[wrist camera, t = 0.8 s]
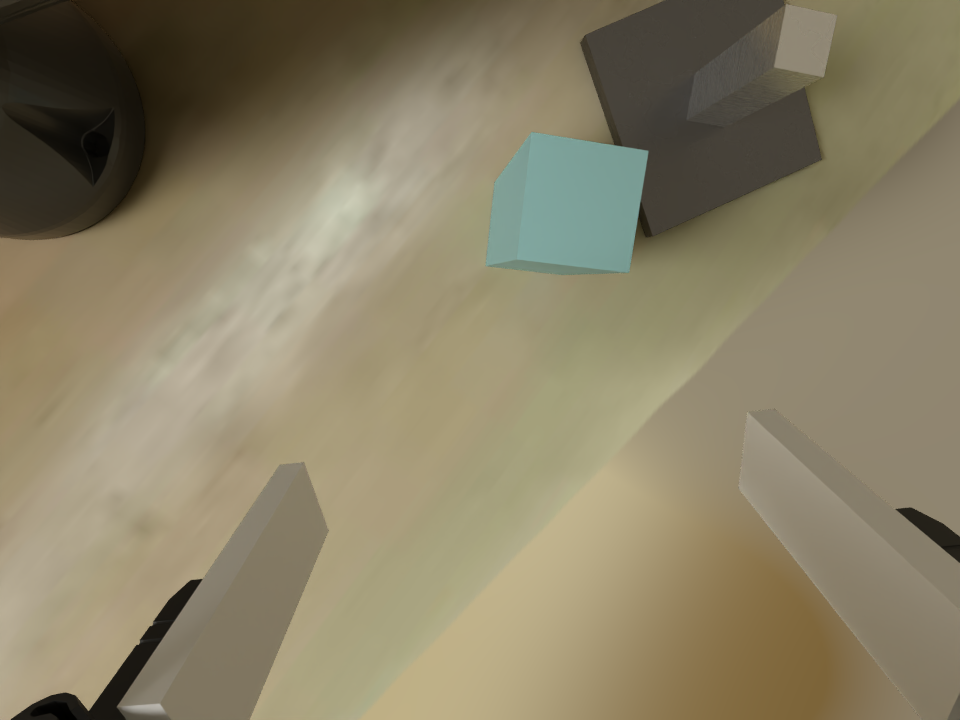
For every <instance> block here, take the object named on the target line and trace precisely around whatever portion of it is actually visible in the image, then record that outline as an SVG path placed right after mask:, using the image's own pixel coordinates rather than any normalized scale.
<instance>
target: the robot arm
mask: <svg viewBox="0 0 960 720" xmlns="http://www.w3.org/2000/svg"><path fill="white" fill-rule="evenodd" d="M144 141H145V124H144V114H143V108H142V103H141V99H140V96H139V92H138V89H137V86H136V83H135V81H134V78H133V76H132V74H131V71H130V69H129V68H128V66H127V64H126V62H125V60H124V58H123V57H122V55H121V53H120V52H119V50H118V49H117V47H116V46H115V44H114V43H113V42H112V40H111V39H110V38H109V37H108V35H107V34H106V33H105V32H104V31H103V30H102V28H101V27H100V26H99V25H98V24H97V23H96V22H95V21H94V20H93V19H92V18H91V17H90V16H89V15H87V14H86V13H85V12H84V11H83V10H82V9H80V8H79V7H78V6H77V5H75V4H74V3H73V2H71V1H70V0H0V237H1V238H11V239H23V240H42V239H51V238H57V237H62V236H66V235H70V234H73V233H76V232H78V231H81V230H83V229H85V228H87V227H90V226H91V225H93V224H95V223H96V222H98V221H100V220H101V219H102V218H104V217H105V216H106V215H108V214H109V213H110V212H111V211H112V210H113V209H114V208H115V207H116V206H117V205H118V204H119V203H120V202H121V201H122V199H123V198H124V197H125V195H126V194H127V192H128V191H129V189H130V187H131V186H132V184H133V182H134V180H135V178H136V176H137V173H138V170H139V167H140V164H141V160H142V156H143V150H144ZM738 488H739V490H740V491H741V492H742V493H743V495H744V496H745V497H746V498H747V500H748V501H749V502H750V504H751V505H752V506H753V507H754V509H755V510H756V511H757V512H758V514H759V515H760V516H761V517H762V519H763V520H764V521H765V523H766V524H767V525H768V526H769V528H770V529H771V530H772V531H773V533H774V534H775V535H776V536H777V538H778V539H779V540H780V541H781V543H782V544H783V545H784V546H785V548H786V549H787V550H788V552H789V553H790V554H791V555H792V557H793V558H794V559H795V560H796V562H797V563H798V564H799V566H800V567H801V568H802V569H803V571H804V572H805V573H806V574H807V576H808V577H809V578H810V579H811V581H812V582H813V583H814V584H815V586H816V587H817V588H818V590H819V591H820V592H821V593H822V595H823V596H824V597H825V598H826V600H827V601H828V602H829V603H830V605H831V606H832V607H833V608H834V610H835V611H836V612H837V614H838V615H839V616H840V617H841V619H842V620H843V621H844V622H845V624H846V625H847V626H848V627H849V629H850V630H851V631H852V633H853V634H854V635H855V636H856V638H857V639H858V640H859V641H860V643H861V644H862V645H863V646H864V648H865V649H866V650H867V651H868V653H869V654H870V655H871V657H872V658H873V659H874V660H875V661H876V663H877V664H878V665H879V667H880V668H881V669H882V670H883V672H884V673H885V674H886V675H887V677H888V678H889V679H890V680H891V682H892V683H893V684H894V685H895V687H896V688H897V689H898V691H899V692H900V693H901V694H902V696H903V697H904V698H905V699H906V701H907V702H908V703H909V704H910V706H911V707H912V708H913V710H914V711H915V712H916V713H917V715H918V716H919V717H920V718H921V719H922V720H960V537H959V536H958V535H957V534H955V533H954V532H953V531H952V530H950V529H949V528H948V527H946V526H945V525H944V524H943V523H941V522H939V521H937V520H935V519H933V518H931V517H929V516H927V515H925V514H923V513H921V512H919V511H917V510H915V509H913V508H901V509H894V508H893V507H892V506H891V505H889V504H888V503H887V502H886V501H885V500H883V499H882V498H881V497H880V496H879V495H877V494H876V493H875V492H874V491H873V490H872V489H870V488H869V487H868V486H867V485H866V484H864V483H863V482H862V481H861V480H860V479H858V478H857V477H856V476H855V475H853V474H852V473H851V472H850V471H849V470H848V469H846V468H845V467H844V466H843V465H841V464H840V463H839V462H838V461H837V460H836V459H834V458H833V457H832V456H831V455H829V454H828V453H827V452H826V451H825V450H824V449H822V448H821V447H820V446H819V445H818V444H816V443H815V442H814V441H813V440H812V439H810V438H809V437H808V436H807V435H806V434H804V433H803V432H802V431H801V430H799V429H798V428H797V427H796V426H795V425H794V424H792V423H791V422H790V421H789V420H788V419H787V418H785V417H784V416H783V415H782V414H780V413H779V412H778V411H777V410H776V409H768V410H759V411H751V412H747V419H746V427H745V436H744V444H743V454H742V462H741V470H740V479H739V487H738ZM328 531H329V530H328V528H327V525H326V522H325V519H324V516H323V514H322V511H321V508H320V505H319V502H318V500H317V497H316V494H315V491H314V488H313V486H312V483H311V480H310V477H309V475H308V472H307V469H306V466H305V463H304V462H301V463H292V464H283V465H279V467H278V468H277V470H276V471H275V473H274V474H273V476H272V477H271V479H270V480H269V482H268V483H267V485H266V486H265V488H264V489H263V491H262V492H261V494H260V495H259V496H258V498H257V499H256V501H255V502H254V504H253V505H252V507H251V508H250V510H249V511H248V513H247V514H246V516H245V517H244V519H243V520H242V522H241V523H240V525H239V526H238V528H237V529H236V531H235V532H234V534H233V535H232V537H231V538H230V540H229V541H228V543H227V544H226V546H225V547H224V548H223V550H222V551H221V553H220V554H219V556H218V557H217V559H216V560H215V562H214V563H213V565H212V566H211V568H210V569H209V571H208V572H207V574H206V575H205V577H204V578H203V579H198V580H190V581H189V582H188V583H187V584H186V585H185V586H184V587H183V588H181V589H180V590H179V591H178V592H177V593H176V594H175V595H174V596H173V597H172V598H170V599H169V600H168V602H167V603H166V605H165V606H164V607H163V609H162V610H161V612H160V613H159V614H158V616H157V617H156V619H155V620H154V621H153V626H150V627H149V628H148V630H147V631H146V632H145V634H144V635H143V637H142V638H141V639H140V644H139V645H136V646H135V648H134V649H133V651H132V652H131V653H130V655H129V656H128V657H127V659H126V660H125V662H124V663H123V664H122V666H121V667H120V669H119V670H118V671H117V673H116V674H115V676H114V677H113V678H112V680H111V681H110V683H109V684H108V685H107V687H106V688H105V689H104V691H103V692H102V694H101V695H100V696H99V698H98V699H97V701H96V702H95V703H94V705H93V706H92V708H91V709H90V710H89V711H88V710H87V709H86V708H85V706H84V705H83V704H82V703H81V701H80V700H79V699H78V698H77V697H76V696H75V695H72V694H69V693H61V694H55V695H51V696H49V697H46V698H44V699H42V700H40V701H38V702H36V703H34V704H32V705H31V706H29V707H28V708H26V709H25V710H23V711H22V712H21V713H19V714H18V715H16V716H15V717H13V718H12V719H11V720H250V717H251V715H252V713H253V710H254V708H255V705H256V703H257V701H258V698H259V696H260V694H261V691H262V689H263V686H264V684H265V682H266V679H267V677H268V674H269V672H270V670H271V667H272V665H273V662H274V660H275V658H276V655H277V653H278V651H279V648H280V646H281V643H282V641H283V639H284V636H285V634H286V631H287V629H288V627H289V624H290V622H291V619H292V617H293V615H294V612H295V610H296V608H297V605H298V603H299V600H300V598H301V596H302V593H303V591H304V588H305V586H306V584H307V581H308V579H309V577H310V574H311V572H312V569H313V567H314V565H315V562H316V560H317V557H318V555H319V553H320V550H321V548H322V545H323V543H324V541H325V538H326V536H327V534H328Z"/></svg>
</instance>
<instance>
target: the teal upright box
mask: <svg viewBox="0 0 960 720" xmlns="http://www.w3.org/2000/svg"><path fill="white" fill-rule="evenodd" d="M647 158H648V151H646V150H640V149H634V148H628V147H622V146H615V145H609V144H603V143H597V142H590V141H584V140H578V139H572V138H566V137H559V136H553V135H547V134H541V133H535V132H531V134H530V135H529V136H528V138H527V139H526V140H525V142H524V143H523V145H522V146H521V147H520V149H519V150H518V151H517V153H516V154H515V155H514V157H513V158H512V160H511V161H510V162H509V164H508V165H507V166H506V168H505V169H504V170H503V172H502V173H501V174H500V176H499V177H498V179H497V180H496V181H495V184H494V194H493V203H492V212H491V221H490V231H489V240H488V249H487V258H486V266H490V267H498V268H507V269H516V270H524V271H533V272H542V273H550V274H559V275H576V274H607V273H629V270H630V264H631V258H632V252H633V245H634V239H635V233H636V226H637V220H638V214H639V208H640V201H641V195H642V189H643V183H644V176H645V170H646V164H647Z"/></svg>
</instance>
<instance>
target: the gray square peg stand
mask: <svg viewBox="0 0 960 720" xmlns="http://www.w3.org/2000/svg"><path fill="white" fill-rule="evenodd" d="M836 19H837V15H834V14H829V13H825V12H820V11H816V10H811V9H807V8H802V7H798V6H793V5H788V4H786V5H784V1H783V0H665V1H663V2H661V3H658V4H656V5H654V6H651V7H649V8H647V9H645V10H642V11H640V12H638V13H635V14H633V15H631V16H628V17H626V18H624V19H621V20H619V21H617V22H614V23H612V24H610V25H607V26H605V27H603V28H601V29H598V30H596V31H594V32H591V33H589V34H587V35H585V36H584V38H583V39H582V41H581V42H580V44H581V47H582V50H583V52H584V55H585V58H586V61H587V64H588V67H589V70H590V73H591V76H592V79H593V82H594V85H595V88H596V91H597V94H598V97H599V100H600V103H601V106H602V109H603V112H604V114H605V117H606V120H607V123H608V126H609V129H610V132H611V135H612V138H613V141H614V144H615V146H622V147H628V148H634V149H640V150H646V151H648V158H647V164H646V170H645V176H644V183H643V189H642V195H641V201H640V208H639V214H638V215H639V218H640V221H641V224H642V227H643V230H644V233H645V235H646V237H651V236H654V235H657V234H659V233H661V232H663V231H665V230H668V229H670V228H672V227H674V226H676V225H679V224H681V223H683V222H685V221H687V220H690V219H692V218H694V217H696V216H698V215H701V214H703V213H705V212H707V211H709V210H712V209H714V208H716V207H718V206H720V205H723V204H725V203H727V202H729V201H731V200H734V199H736V198H738V197H740V196H742V195H745V194H747V193H749V192H751V191H753V190H756V189H758V188H760V187H762V186H764V185H767V184H769V183H771V182H773V181H775V180H778V179H780V178H782V177H784V176H786V175H789V174H791V173H793V172H795V171H797V170H800V169H802V168H804V167H806V166H808V165H811V164H813V163H815V162H817V161H819V160H822V158H821V154H820V150H819V146H818V142H817V138H816V133H815V129H814V125H813V121H812V117H811V113H810V109H809V105H808V100H807V96H806V92H805V88H804V87H806V86H808V85H810V84H812V83H813V82H815V81H817V80H819V79H821V78H823V77H824V75H825V70H826V66H827V61H828V56H829V52H830V47H831V42H832V38H833V33H834V28H835V24H836Z"/></svg>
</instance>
